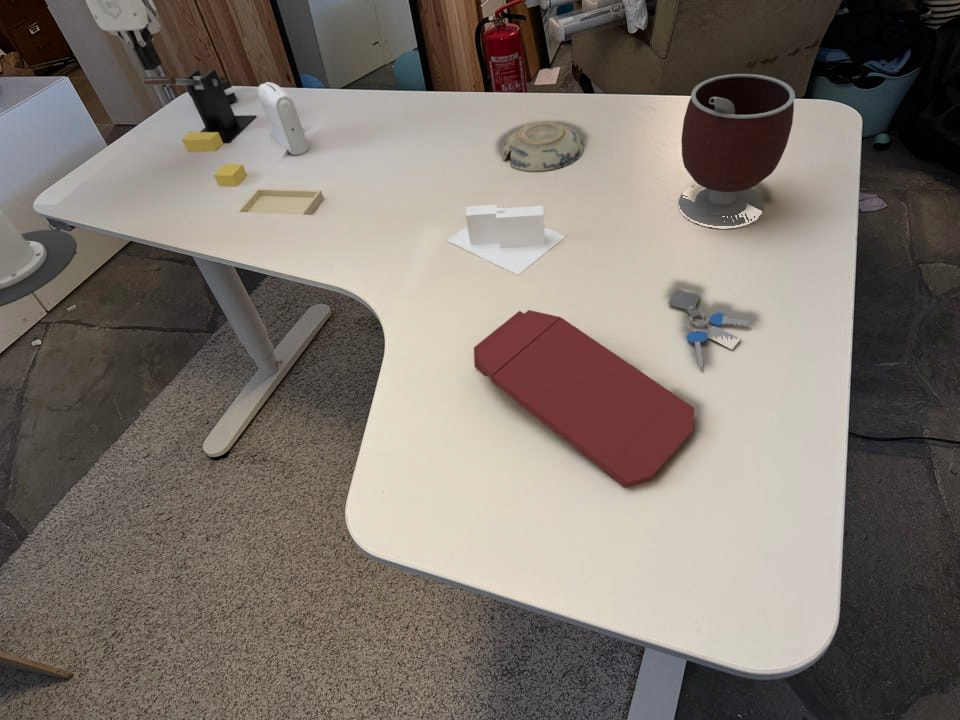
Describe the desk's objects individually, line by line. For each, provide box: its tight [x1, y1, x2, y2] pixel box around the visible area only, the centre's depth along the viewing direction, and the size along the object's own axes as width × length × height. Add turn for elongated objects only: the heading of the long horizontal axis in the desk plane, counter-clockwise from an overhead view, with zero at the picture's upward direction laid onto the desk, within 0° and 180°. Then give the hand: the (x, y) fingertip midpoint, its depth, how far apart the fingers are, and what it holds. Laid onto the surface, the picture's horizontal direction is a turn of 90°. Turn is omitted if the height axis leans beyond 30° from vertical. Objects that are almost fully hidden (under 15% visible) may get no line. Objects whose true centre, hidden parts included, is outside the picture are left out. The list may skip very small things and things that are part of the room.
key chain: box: [667, 289, 751, 369], centre depth 75 cm, size 14×8×1 cm, turn 5°
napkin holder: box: [446, 204, 567, 276], centre depth 91 cm, size 15×11×6 cm
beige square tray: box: [236, 188, 324, 216], centre depth 105 cm, size 13×13×2 cm
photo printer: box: [257, 81, 309, 156], centre depth 119 cm, size 10×4×12 cm, turn 37°
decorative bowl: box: [500, 120, 585, 173], centre depth 109 cm, size 15×4×15 cm
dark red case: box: [473, 309, 695, 488], centre depth 69 cm, size 12×5×25 cm
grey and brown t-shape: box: [143, 75, 205, 90], centre depth 119 cm, size 14×6×2 cm, turn 166°
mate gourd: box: [678, 73, 796, 226], centre depth 84 cm, size 16×14×20 cm
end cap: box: [186, 74, 238, 103], centre depth 140 cm, size 10×7×7 cm
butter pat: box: [213, 163, 248, 187], centre depth 114 cm, size 4×4×3 cm
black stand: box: [183, 69, 258, 144], centre depth 127 cm, size 12×10×13 cm
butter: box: [181, 131, 224, 152], centre depth 126 cm, size 3×7×4 cm, turn 76°
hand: (153, 66), depth 111 cm, fingers closed
